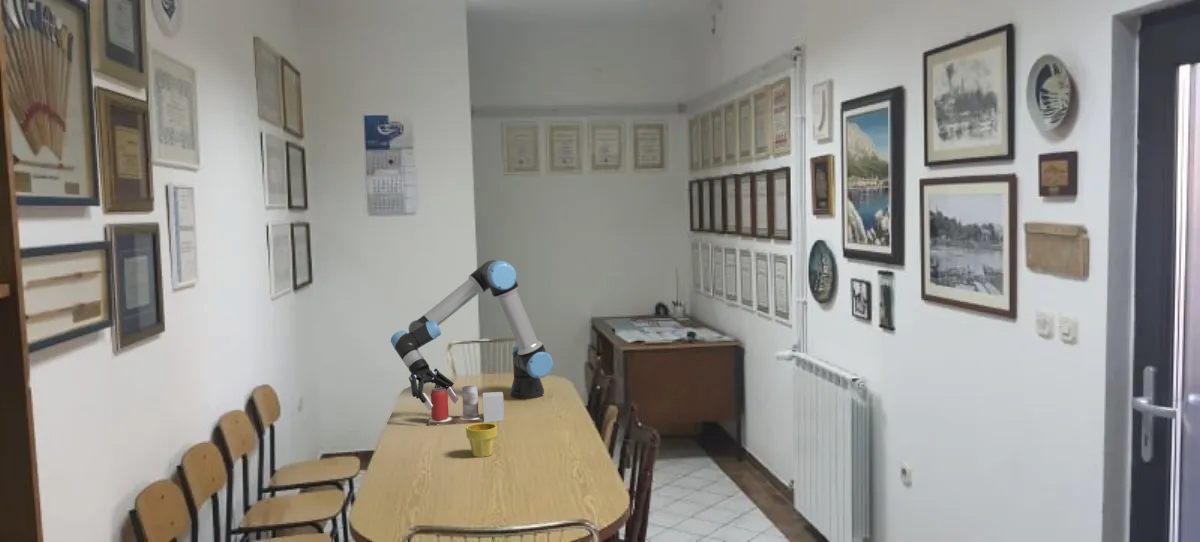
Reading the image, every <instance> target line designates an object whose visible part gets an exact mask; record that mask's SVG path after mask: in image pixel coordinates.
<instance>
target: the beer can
mask: <svg viewBox="0 0 1200 542" xmlns="http://www.w3.org/2000/svg"><path fill="white" fill-rule="evenodd" d="M430 397H431V398H430V402H431V403H432V405H433V407H432V408H431V409H430V411H431V418H432V419H433V420H437V421H440V420H446V419H447V418H448V417H450V415H449V396H448V394H447V391H446V388H442V387H441V388H437V387H436V388H435V387H434V388H432V389H431V393H430Z"/></svg>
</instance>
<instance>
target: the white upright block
mask: <svg viewBox="0 0 1200 542" xmlns="http://www.w3.org/2000/svg"><path fill="white" fill-rule="evenodd" d="M504 401H505V400H504V393H503V391H493V392H492V391H491V392H483V393H482V407H483V423H492V422H504V421H505V407H504V406H505V405H504Z"/></svg>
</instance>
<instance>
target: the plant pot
mask: <svg viewBox="0 0 1200 542" xmlns="http://www.w3.org/2000/svg"><path fill="white" fill-rule="evenodd" d="M465 432H466V438H467V439H468V441H469V445H470V449H471V452H472V456H473V457H475V456H476V458H485V457H484V456H487V457H490V456H492V455H493V454H494V448H495V446H494V445H495V443H496V442H495V440H496V438H497V435H498V426H497V425H496V424H495V423H492V422H479V423H472V424H469V425H468V426H466V427H465ZM489 455H490V456H489Z"/></svg>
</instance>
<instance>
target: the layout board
mask: <svg viewBox="0 0 1200 542" xmlns="http://www.w3.org/2000/svg"><path fill="white" fill-rule="evenodd" d="M478 391H479V390H478V386H477V385H465V386H463V387H461V394H462V414H463V415H453V416H452V415H451V416H450V415H449V417H448V418H447V419H446V420H440V421H437V420H433V419H432V417H429V418H428V422H427V424H428V425H433V426H438V425H437V424H448V425H457V424H456V423H463V424H478V423H484V418H483V414H479V396H478V395H479V394H478Z"/></svg>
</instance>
